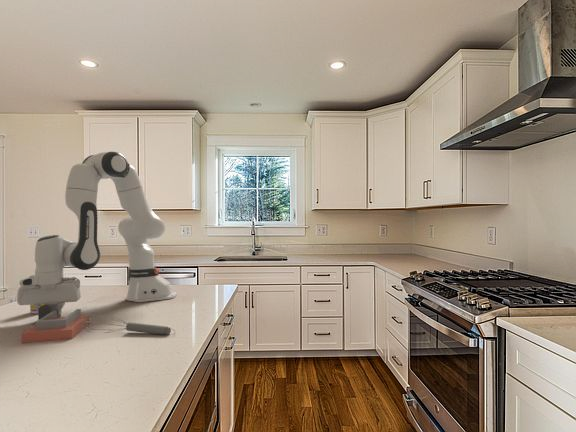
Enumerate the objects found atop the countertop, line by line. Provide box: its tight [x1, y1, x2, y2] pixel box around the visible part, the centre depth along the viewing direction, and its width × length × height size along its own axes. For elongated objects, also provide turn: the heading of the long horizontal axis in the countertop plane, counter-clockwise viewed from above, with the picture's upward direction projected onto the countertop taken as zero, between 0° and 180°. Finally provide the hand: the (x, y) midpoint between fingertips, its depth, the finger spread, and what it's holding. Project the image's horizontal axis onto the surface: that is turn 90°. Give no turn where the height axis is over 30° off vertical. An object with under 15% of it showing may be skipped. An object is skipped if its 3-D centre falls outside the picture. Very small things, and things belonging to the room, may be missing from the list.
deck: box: [21, 308, 90, 344], centre depth 116 cm, size 14×16×6 cm
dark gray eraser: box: [37, 303, 62, 321], centre depth 130 cm, size 4×9×6 cm, turn 13°
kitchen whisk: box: [82, 312, 176, 336], centre depth 115 cm, size 6×34×6 cm, turn 80°
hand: (50, 314), depth 130 cm, fingers open, 4 cm apart
